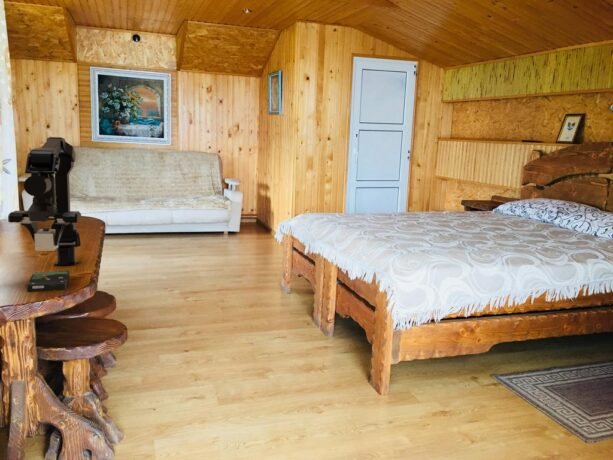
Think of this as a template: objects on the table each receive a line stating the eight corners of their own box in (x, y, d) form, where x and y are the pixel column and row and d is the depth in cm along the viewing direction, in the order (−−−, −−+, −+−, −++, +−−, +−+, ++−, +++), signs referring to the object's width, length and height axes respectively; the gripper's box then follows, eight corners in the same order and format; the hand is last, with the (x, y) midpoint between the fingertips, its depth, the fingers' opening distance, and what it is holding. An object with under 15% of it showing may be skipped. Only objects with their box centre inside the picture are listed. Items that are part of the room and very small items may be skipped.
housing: (40, 247, 162) (39, 226, 161) (58, 247, 163) (57, 226, 162) (35, 250, 158) (34, 228, 157) (53, 250, 158) (52, 228, 157)
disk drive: (66, 292, 157) (69, 278, 171) (66, 282, 157) (69, 270, 170) (27, 294, 154) (33, 280, 167) (26, 284, 153) (32, 271, 167)
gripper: (-1, 195, 148) (2, 251, 151) (71, 196, 152) (73, 250, 154) (13, 191, 159) (16, 243, 162) (80, 192, 163) (82, 243, 165)
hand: (46, 245), depth 160 cm, fingers closed on housing, 5 cm apart
